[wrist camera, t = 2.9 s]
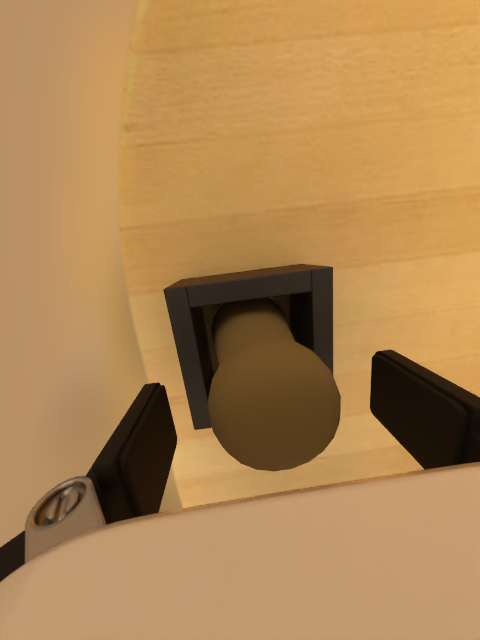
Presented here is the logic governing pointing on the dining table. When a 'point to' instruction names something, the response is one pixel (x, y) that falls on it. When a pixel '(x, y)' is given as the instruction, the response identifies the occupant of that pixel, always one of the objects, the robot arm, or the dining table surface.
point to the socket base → (191, 294)
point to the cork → (268, 389)
